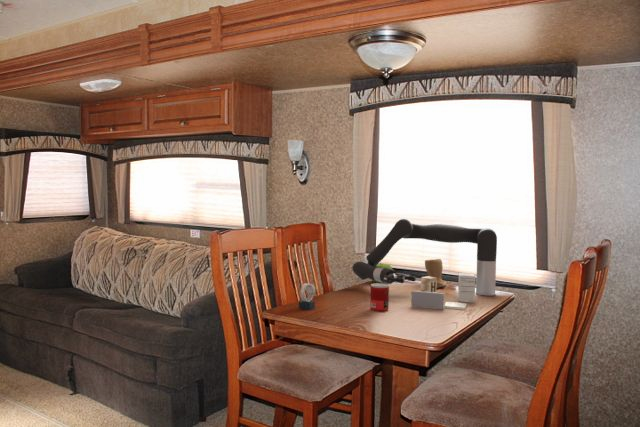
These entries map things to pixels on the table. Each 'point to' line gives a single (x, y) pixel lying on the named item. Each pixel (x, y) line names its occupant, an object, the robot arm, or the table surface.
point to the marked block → (428, 284)
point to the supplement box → (466, 287)
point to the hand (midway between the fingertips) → (409, 280)
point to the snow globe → (307, 303)
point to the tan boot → (435, 270)
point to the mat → (455, 305)
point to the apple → (384, 267)
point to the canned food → (379, 297)
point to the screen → (427, 300)
